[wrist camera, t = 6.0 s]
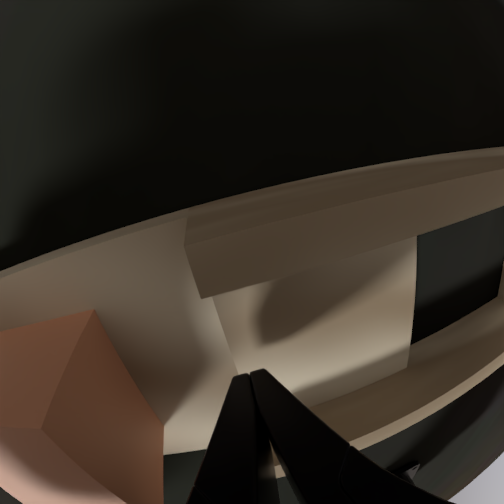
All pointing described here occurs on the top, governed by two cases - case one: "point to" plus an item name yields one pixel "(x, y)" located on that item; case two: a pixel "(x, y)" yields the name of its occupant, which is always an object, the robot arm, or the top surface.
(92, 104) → the top surface
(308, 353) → the beige open frame tray
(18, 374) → the block
